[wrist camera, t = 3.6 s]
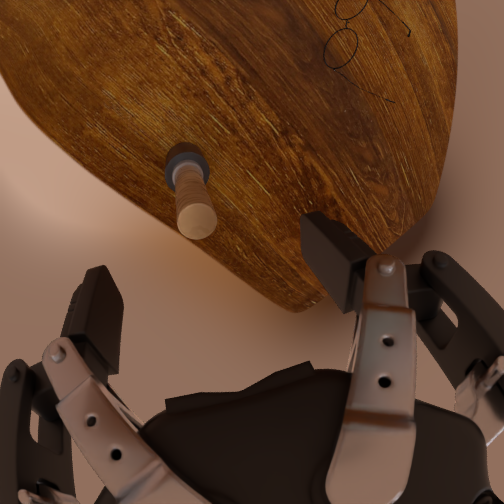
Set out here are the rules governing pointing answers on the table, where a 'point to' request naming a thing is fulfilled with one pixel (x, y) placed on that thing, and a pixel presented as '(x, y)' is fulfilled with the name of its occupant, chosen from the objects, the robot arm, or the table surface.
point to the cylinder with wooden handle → (190, 190)
